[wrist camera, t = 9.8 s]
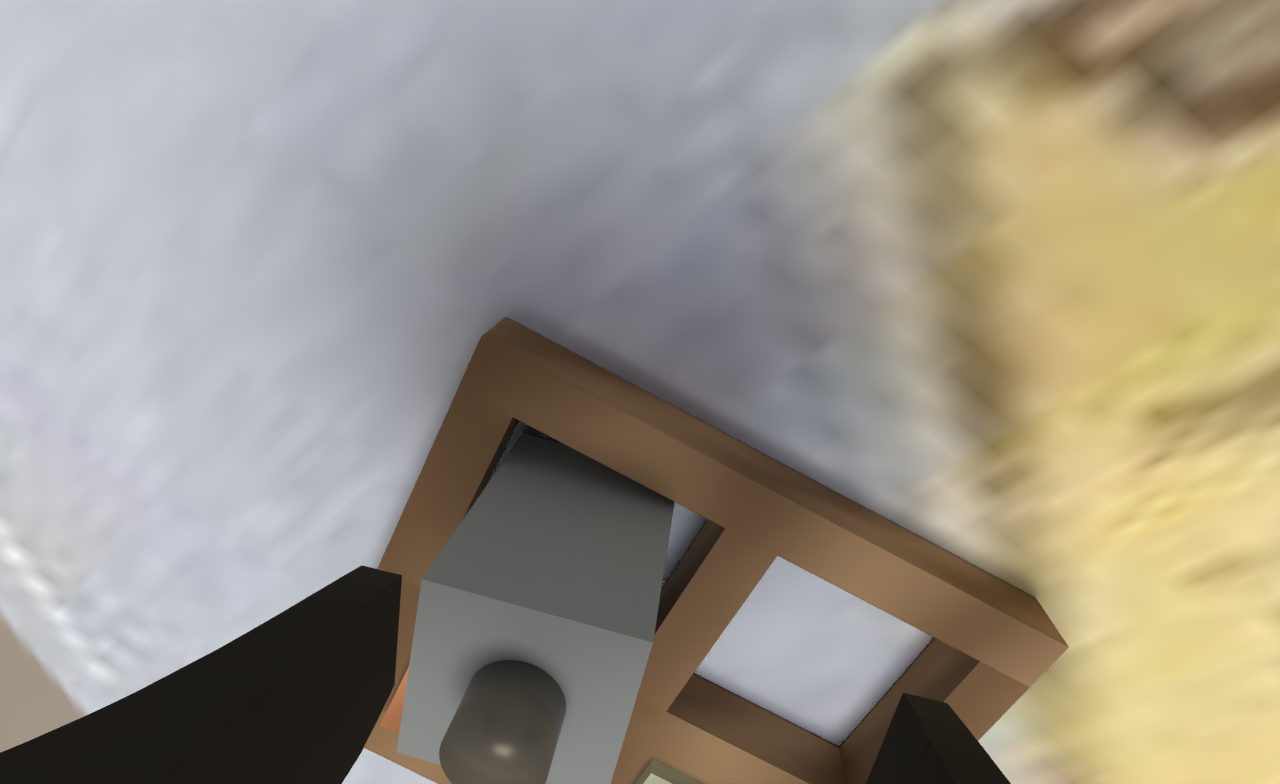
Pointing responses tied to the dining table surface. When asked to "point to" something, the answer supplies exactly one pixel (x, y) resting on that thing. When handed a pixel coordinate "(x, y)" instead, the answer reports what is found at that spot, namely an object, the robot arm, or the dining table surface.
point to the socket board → (715, 573)
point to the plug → (537, 623)
